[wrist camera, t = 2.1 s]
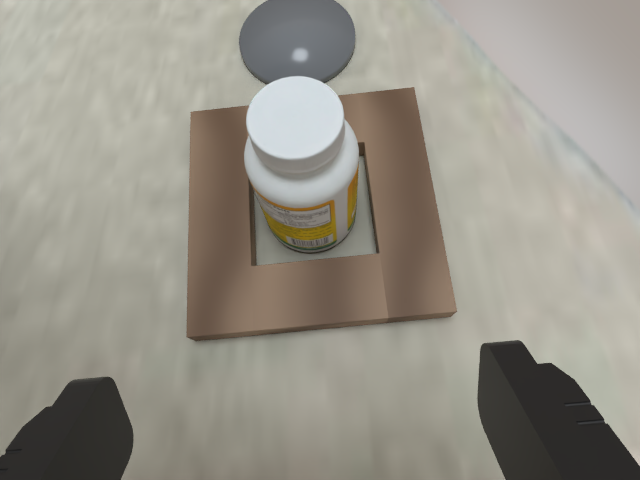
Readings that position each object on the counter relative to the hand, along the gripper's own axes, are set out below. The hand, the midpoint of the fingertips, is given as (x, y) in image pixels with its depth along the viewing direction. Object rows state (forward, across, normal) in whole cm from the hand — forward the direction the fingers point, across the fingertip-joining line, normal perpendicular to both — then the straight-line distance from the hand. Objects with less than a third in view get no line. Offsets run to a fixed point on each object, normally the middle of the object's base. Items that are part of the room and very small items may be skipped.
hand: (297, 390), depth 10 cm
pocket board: (+18, 0, +3) cm, 18 cm away
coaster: (+27, 0, -6) cm, 28 cm away
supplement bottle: (+18, 0, +3) cm, 18 cm away
